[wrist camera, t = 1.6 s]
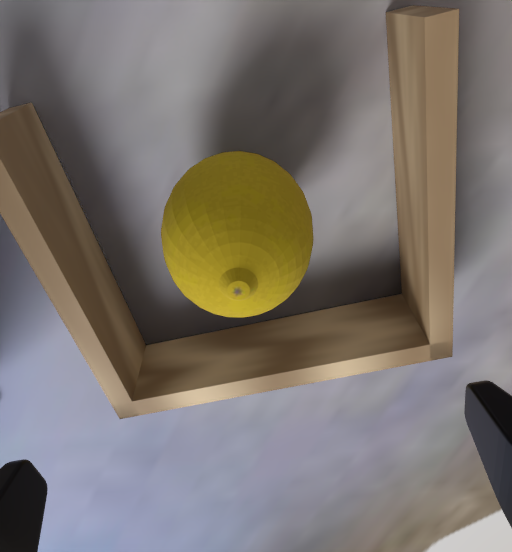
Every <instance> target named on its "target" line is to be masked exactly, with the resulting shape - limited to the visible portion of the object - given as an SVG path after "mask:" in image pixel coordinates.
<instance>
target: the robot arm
mask: <svg viewBox="0 0 512 552" xmlns="http://www.w3.org/2000/svg"><path fill="white" fill-rule="evenodd" d="M465 418H466V422H467V425H468V427H469V430H470V432H471V435H472V437H473V440H474V442H475V445H476V447H477V450H478V452H479V455H480V457H481V460H482V462H483V465H484V468H485V470H486V473H487V475H488V478H489V480H490V483H491V485H492V488H493V490H494V493H495V495H496V497H497V500H498V502H499V504H500V506H501V508H502V510H503V512H504V514H505V516H506V518H507V520H508V522H509V523H510V526H511V527H512V396H511V395H510V394H508V393H507V392H505V391H504V390H503V389H501V388H500V387H498V386H497V385H496V384H494V383H493V382H490V381H480V382H474V383H469V384H468V385H467V386H466V393H465ZM46 497H47V483H46V481H45V479H44V478H43V477H42V475H41V474H40V473H39V472H38V471H37V469H36V468H35V467H34V466H33V464H32V463H31V462H30V461H29V460H18V461H12V462H9V463H7V464H5V465H4V466H3V467H2V468H1V469H0V552H37V551H38V545H39V539H40V533H41V527H42V521H43V515H44V509H45V503H46Z"/></svg>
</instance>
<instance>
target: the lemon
mask: <svg viewBox="0 0 512 552" xmlns="http://www.w3.org/2000/svg"><path fill="white" fill-rule="evenodd" d="M161 238H162V245H163V253H164V258H165V262H166V265H167V267H168V269H169V272H170V274H171V276H172V279H173V281H174V282H175V284H176V285H177V286H178V288H179V289H180V290H181V291H182V293H183V294H184V295H185V296H186V297H187V298H188V299H190V300H191V301H192V302H194V303H195V304H196V305H197V306H199V307H200V308H202V309H204V310H207V311H209V312H211V313H213V314H217V315H221V316H225V317H243V318H244V317H249V316H255V315H259V314H262V313H264V312H267V311H269V310H272V309H273V308H275V307H276V306H278V305H279V304H281V303H282V302H283V301H285V300H286V299H287V298H288V297H289V296H290V295H291V294H292V293H293V292H294V290H295V289H296V288H297V287H298V285H299V284H300V282H301V280H302V278H303V276H304V274H305V272H306V271H307V268H308V265H309V261H310V256H311V251H312V246H313V227H312V216H311V212H310V209H309V206H308V204H307V201H306V198H305V195H304V193H303V191H302V190H301V188H300V187H299V186H298V184H297V183H296V181H295V180H294V179H293V177H292V176H291V175H290V174H289V173H288V172H287V171H286V170H284V169H283V168H282V167H281V166H279V165H278V164H277V163H276V162H274V161H272V160H270V159H267V158H265V157H263V156H261V155H259V154H255V153H249V152H243V151H234V152H222V153H220V154H217V155H214V156H211V157H208V158H205V159H203V160H202V161H200V162H199V163H197V164H196V165H194V166H193V167H191V168H190V169H189V170H188V171H187V172H186V173H185V174H184V175H183V177H182V178H181V179H180V180H179V181H178V182H177V184H176V185H175V187H174V188H173V190H172V193H171V195H170V197H169V199H168V201H167V203H166V206H165V209H164V215H163V221H162V228H161Z"/></svg>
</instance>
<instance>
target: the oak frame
mask: <svg viewBox="0 0 512 552" xmlns="http://www.w3.org/2000/svg"><path fill="white" fill-rule="evenodd" d="M386 25H387V43H388V60H389V78H390V95H391V113H392V130H393V148H394V165H395V183H396V201H397V218H398V236H399V253H400V271H401V288H402V294H398V295H393V296H388V297H384V298H379V299H374V300H369V301H364V302H359V303H354V304H349V305H344V306H339V307H334V308H329V309H324V310H319V311H314V312H309V313H304V314H299V315H294V316H289V317H284V318H279V319H274V320H269V321H264V322H259V323H254V324H249V325H244V326H239V327H235V328H230V329H225V330H220V331H215V332H210V333H205V334H200V335H195V336H190V337H185V338H180V339H175V340H170V341H165V342H160V343H155V344H150V345H146V344H145V342H144V340H143V338H142V336H141V334H140V331H139V329H138V327H137V325H136V323H135V321H134V319H133V317H132V314H131V312H130V310H129V308H128V306H127V304H126V302H125V300H124V297H123V295H122V293H121V291H120V289H119V287H118V285H117V283H116V280H115V278H114V276H113V274H112V272H111V270H110V268H109V266H108V263H107V261H106V259H105V257H104V255H103V253H102V251H101V249H100V247H99V244H98V242H97V240H96V238H95V236H94V234H93V232H92V230H91V227H90V225H89V223H88V221H87V219H86V217H85V215H84V213H83V210H82V208H81V206H80V204H79V202H78V200H77V198H76V196H75V193H74V191H73V189H72V187H71V185H70V183H69V181H68V179H67V176H66V174H65V172H64V170H63V168H62V166H61V164H60V162H59V160H58V157H57V155H56V153H55V151H54V149H53V147H52V145H51V143H50V140H49V138H48V136H47V134H46V132H45V130H44V128H43V126H42V123H41V121H40V119H39V117H38V115H37V113H36V111H35V109H34V106H33V104H32V103H28V104H24V105H20V106H16V107H12V108H8V109H6V110H4V111H2V112H0V214H1V216H2V217H3V219H4V221H5V222H6V224H7V226H8V228H9V229H10V231H11V233H12V235H13V236H14V238H15V240H16V241H17V243H18V245H19V247H20V248H21V250H22V252H23V253H24V255H25V257H26V259H27V260H28V262H29V264H30V265H31V267H32V269H33V271H34V272H35V274H36V276H37V277H38V279H39V281H40V283H41V284H42V286H43V288H44V289H45V291H46V293H47V295H48V296H49V298H50V300H51V302H52V303H53V305H54V307H55V308H56V310H57V312H58V314H59V315H60V317H61V319H62V320H63V322H64V324H65V326H66V327H67V329H68V331H69V332H70V334H71V336H72V338H73V339H74V341H75V343H76V344H77V346H78V348H79V350H80V351H81V353H82V355H83V357H84V358H85V360H86V362H87V363H88V365H89V367H90V369H91V370H92V372H93V374H94V375H95V377H96V379H97V381H98V382H99V384H100V386H101V387H102V389H103V391H104V393H105V394H106V396H107V398H108V399H109V401H110V403H111V405H112V406H113V408H114V410H115V412H116V413H117V415H118V417H119V418H120V419H123V418H128V417H133V416H139V415H144V414H149V413H155V412H160V411H165V410H171V409H176V408H181V407H187V406H192V405H197V404H203V403H208V402H213V401H219V400H224V399H229V398H235V397H240V396H245V395H251V394H256V393H261V392H266V391H272V390H277V389H282V388H288V387H293V386H298V385H304V384H309V383H314V382H320V381H325V380H330V379H336V378H341V377H346V376H352V375H357V374H362V373H368V372H373V371H378V370H384V369H389V368H394V367H399V366H405V365H410V364H415V363H421V362H426V361H431V360H437V359H442V358H447V357H452V346H453V295H454V243H455V192H456V141H457V90H458V39H459V9H455V8H441V7H428V6H414V5H413V6H409V7H405V8H401V9H397V10H393V11H389V12H386Z"/></svg>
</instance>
